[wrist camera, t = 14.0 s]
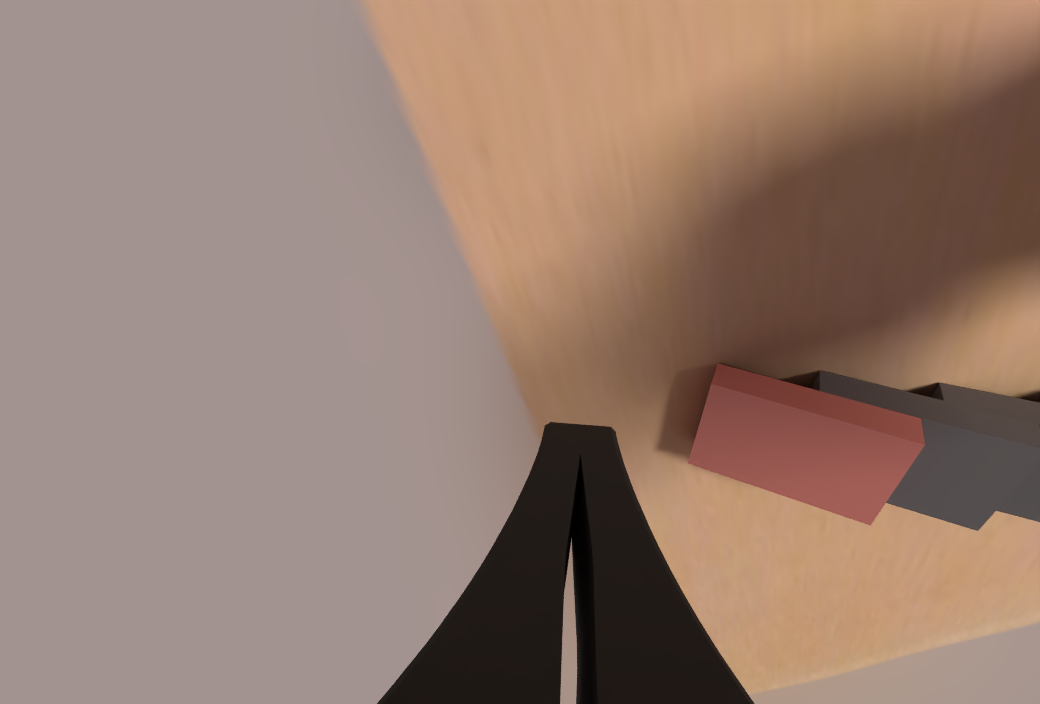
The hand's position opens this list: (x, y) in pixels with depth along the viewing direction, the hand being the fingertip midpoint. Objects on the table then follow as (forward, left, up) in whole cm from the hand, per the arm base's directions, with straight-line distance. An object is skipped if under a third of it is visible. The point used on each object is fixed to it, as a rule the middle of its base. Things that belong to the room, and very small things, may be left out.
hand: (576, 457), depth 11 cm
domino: (-9, +7, -9) cm, 15 cm away
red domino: (-5, +7, -9) cm, 13 cm away
